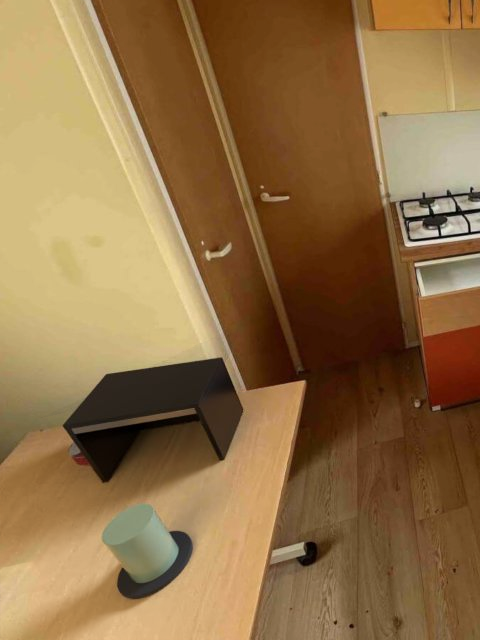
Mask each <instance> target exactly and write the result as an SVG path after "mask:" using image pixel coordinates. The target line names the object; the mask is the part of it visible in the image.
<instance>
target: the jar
mask: <svg viewBox="0 0 480 640" xmlns="http://www.w3.org/2000/svg"><path fill="white" fill-rule="evenodd" d="M169 532H170V531H169V529H168V528H167V526H166V524H164V522H163V520H162V518H161V517H160V515H159V514H158V513H157V511H156V510H155V508H154V506H153V505H151V504H150V503H138V504H134V505H131V506H129V507H127V508H125V509H124V510H122V511H119V513H118V514H116V515H115V516H114V517H113V518H111V520H109V522H108V523H107V524H106V526H105V527H104V528H103V531H102V534H101V541H102V543H103V544H104V545H105V546H106V548H107V549H108V550H109V552H110V553H111V554H112V555H113V557H114V558H115V560H116V561H117V562H118V563H119V564H120V565H121V568H122V567H123V568H124V569H125V571H126V572H127V573H128V574H129V576H130V577H131V578H132V580H133V581H135V582H137V583H146V582H149V581H152V580H154V579H156V578H157V577H159V576H160V575H162V574H163V573H164V572H166V571H167V570H168V569H169V568H170V567H171V565H172V564H173V563H174V561H175V559H176V557H177V555H178V545H177V544H176V542H175V541H174V539H173V538H172V536H171V534H170V533H169Z"/></svg>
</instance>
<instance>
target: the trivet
mask: <svg viewBox="0 0 480 640" xmlns="http://www.w3.org/2000/svg"><path fill="white" fill-rule="evenodd" d="M169 533H170V534H171V536H172V538H173V539H174V541H175V542H176V544H177V545H178V555H177V557H176V559H175V561H174V563H173V564H172V565H171V567H170V568H169V569H168V570H167V571H166V572H164V573H163V574H162V575H160V576H159V577H157V578H156V579H154V580H152V581H149V582H146V583H137V582H135V581H133V580H132V578H131V577H130V576H129V574H128V573H127V572H126V571H125V569H124V568H123V567H122V566H121V569H120V571H119V573H118V576H117V581H116V587H117V590H118V592H119V593H120V594H121V595H122V596H123V597H124V598H126V599H128V600H129V599H130V600H139V599H144V598H148V597H150V596H152V595H154V594H156V593H159V592H160V591H162V590H163V589H164V588H166V587H167V586H169V585H170V584H171V583H172V582H173V581H174V580H175V579H176V578H178V577H179V575H180V574H181V573H182V572H183V571H184V569H185V568H186V567H187V565H188V563H189V561H190V559H191V558H192V554H193V550H194V544H193V543H194V542H193V540H192V539H191V537H190V535H189V534H188V533H186V532H185V531H182V530H171V531H169Z"/></svg>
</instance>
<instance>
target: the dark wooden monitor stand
mask: <svg viewBox="0 0 480 640" xmlns="http://www.w3.org/2000/svg"><path fill="white" fill-rule="evenodd" d="M243 410H244V407H243V405H242V402H241V399H240V397H239V394H238V392H237V390H236V387H235V385H234V383H233V380H232V378H231V375H230V372H229V371H228V368H227V366H226V363H225V360H224V358H223V357H222V356H221V357H214V358H207V359H199V360H193V361H187V362H179V363H172V364H165V365H159V366H152V367H151V366H150V367H145V368H139V369H138V368H137V369H132V370H130V369H129V370H125V371H118V372H110V373H106V374H105V375H104V376H103V377H102V378H101V379H100V381H99V382H98V383H97V384H96V385H95V387H94V388H93V389H92V390H90V392H89V393H88V395H87V396H86V397H85V398H84V399H83V401H82V402H80V404H79V406H77V407H76V409H75V410H74V411H73V412H72V413H71V415H70V416H69V417H68V418H67V419H66V420H65V422H64V423H63V424H62V427H63V429H64V431H66V433H67V434H68V435H69V437H70V438H71V440H72V441H73V442H74V443H75V444H76V446H77V447H78V448H79V450H80V451H81V453H82V454H83V455H84V457H85V458H86V460H87V461H88V463H89V464H90V465H89V466H90V467H91V469H92V470H93V471H94V472H95V474H96V475H97V477H98V478H99V480H100V481H101V483H102V484H105V483H109V482H110V480H111V478H112V476H113V475H114V474H115V472H116V471H117V469H118V467H119V466H120V464H121V463H122V461H123V460H124V458H125V456H126V455H127V453H128V451H129V450H130V449H131V447H132V446H133V444H134V442H135V441H136V439H137V438H138V436H139V434H140V433H141V432H142V431H143V432H144V431H148V430H153V429H154V430H156V429H160V428H166V427H171V426H177V425H184V424H189V423H196V422H200V424H201V425H202V427H203V429H204V431H205V433H206V435H207V437H208V439H209V441H210V443H211V445H212V448H213V449H214V452H215V454H216V456H217V458H218V460H219V461H225V460H226V457H227V454H228V452H229V449H230V447H231V444H232V441H233V440H234V437H235V434H236V432H237V429H238V427H239V424H240V422H241V419H242V417H243V414H244V412H243ZM244 411H245V410H244ZM242 413H243V414H242ZM241 416H242V417H241ZM240 418H241V419H240Z"/></svg>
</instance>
